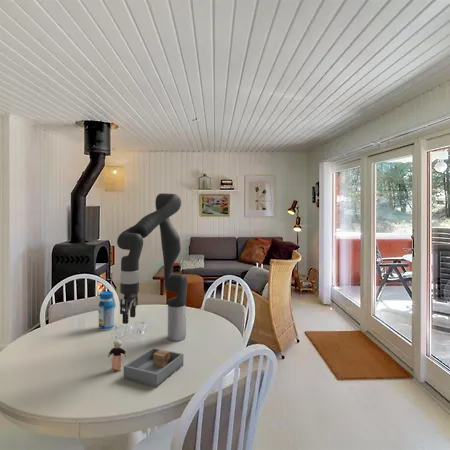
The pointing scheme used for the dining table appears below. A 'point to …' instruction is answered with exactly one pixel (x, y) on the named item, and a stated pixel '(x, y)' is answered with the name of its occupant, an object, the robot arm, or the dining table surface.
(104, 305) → the blue labelled canister
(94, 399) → the dining table surface
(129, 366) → the tote
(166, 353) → the walnut block
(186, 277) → the robot arm
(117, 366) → the grandmother figurine
